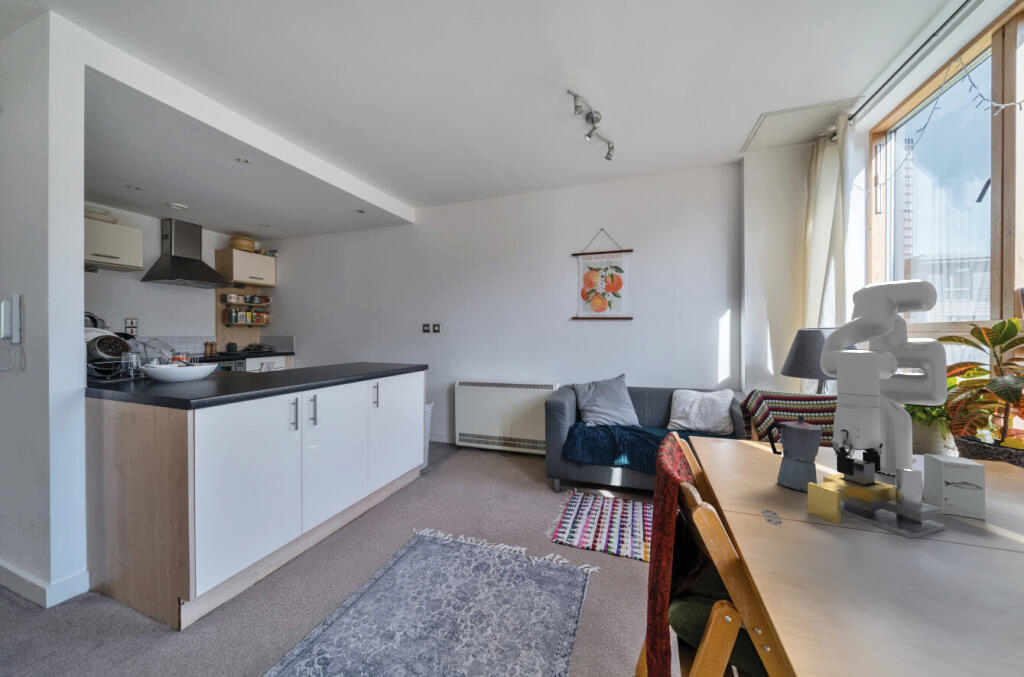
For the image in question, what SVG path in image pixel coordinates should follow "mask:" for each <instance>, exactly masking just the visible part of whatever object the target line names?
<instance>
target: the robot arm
mask: <svg viewBox="0 0 1024 677" xmlns="http://www.w3.org/2000/svg"><path fill="white" fill-rule="evenodd" d="M937 300H938V292H937V289H936V288H935V286H934V284H932V283H931V282H929V281H927V280H923V279H911V280H910V279H908V280H899V281H898V280H897V281H890V282H889V281H888V282H878V283H873V284H872V283H871V284H868V285H865V286H863V287H862V288H860V289H858V290H856V291H854V292H853V294H852V303H853V304H854V305H853V310H852V314H851V319H850V321H848V322H846V323H845V324H843V325H841V326H840V327H839V328H838V327H837V328H836V329H834V330H833V331H832V332H831V333H830V334H829V335H828V336H827V338H826V339H825V341H824V342H823V346H822V350H821V353H820V354H821V355H820V359H819V366H820V370H821V371H822V373H823V374H824V375H826V376H828V377H831V378H836V396H837V397H836V401H837V402H836V407H835V411H834V418H833V428H832V431H833V432H832V438H831V443H832V446H833V451H834V452H835V453H834V454H835V456H836V472H838V474H846V475H850V476H854V459H853V456H854V455H855V452H856V451H861V450H863V451H862V460H863V461H867V462H871V463H875V471H877V472H876V473H878V472H882V473H887V474H893V475H895V467H907V468H912V469H914V467H913V465H914V464H917V463H918V460H917V459H916V458H915V457H913V421H912V416H911V415H910V413H909V412H908V411H907V410H906V409H905V408H904V407H903V406H901V405H900V404H909V405H910V404H911V405H921V406H933V407H934V406H942V405H943V404H945V403H946V401H947V399H948V372H947V356H946V355H947V354H946V349H945V346H944V344H943V343H942V342H941V341H940V340H937V339H934V338H926V337H925V338H921V337H920V338H918V337H917V338H911V337H908V325H907V324H908V323H907V321H906V320H905V319H904V318H903V317H902V316H901V315H899V314H901V313H921V312H923V313H924V312H929V311H931V310H933V309H934V308H935V306H936V304H937ZM865 342H868V349H858V348H857V349H856V348H855V349H854V348H853V349H852V348H851V349H850V348H849V349H847V348H848V347H851V346H854V345H857V344H860V343H861V344H862V343H865ZM898 370H917V371H918V370H919V371H921V372H922V373H916V372H915V373H914V372H913V373H912V372H897V371H898ZM882 473H881V474H882ZM887 474H886V475H887Z"/></svg>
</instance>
